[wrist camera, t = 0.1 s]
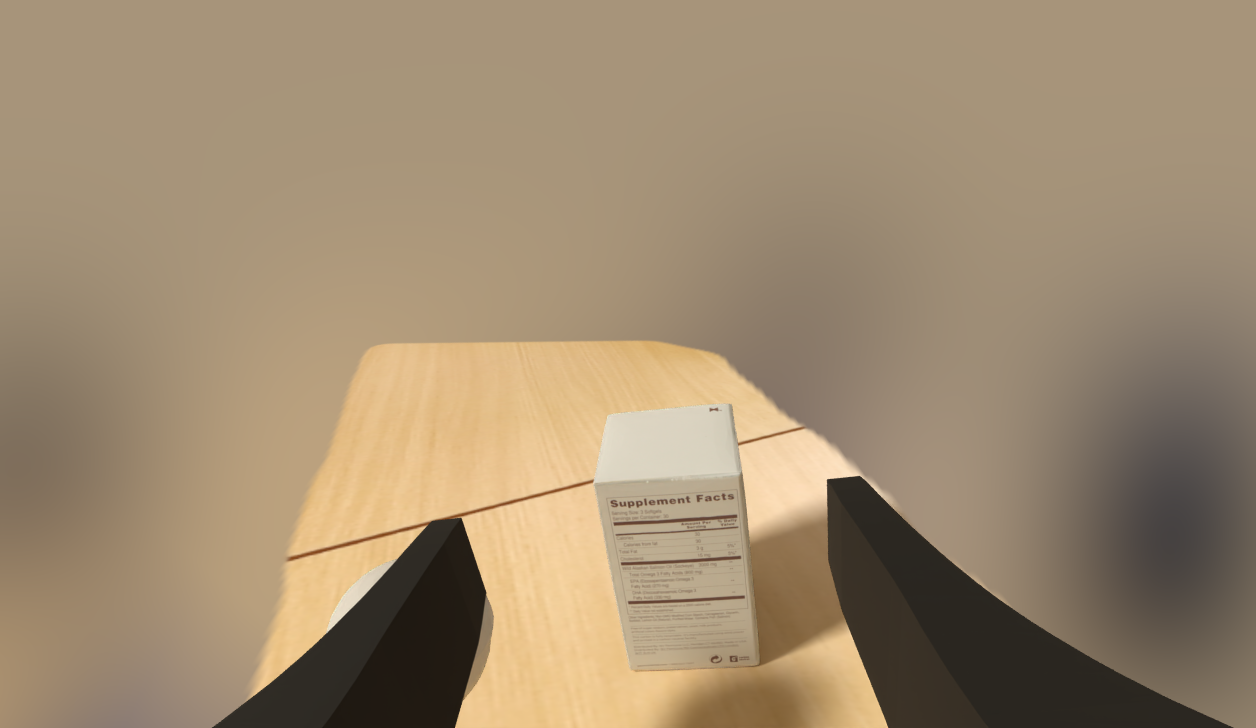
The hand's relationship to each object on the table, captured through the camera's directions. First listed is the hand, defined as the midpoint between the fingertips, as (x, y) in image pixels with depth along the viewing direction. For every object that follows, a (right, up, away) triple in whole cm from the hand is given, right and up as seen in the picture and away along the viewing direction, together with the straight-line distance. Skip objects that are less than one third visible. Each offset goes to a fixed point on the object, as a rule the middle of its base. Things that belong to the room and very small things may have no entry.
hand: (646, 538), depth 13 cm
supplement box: (+3, -12, +27) cm, 30 cm away
